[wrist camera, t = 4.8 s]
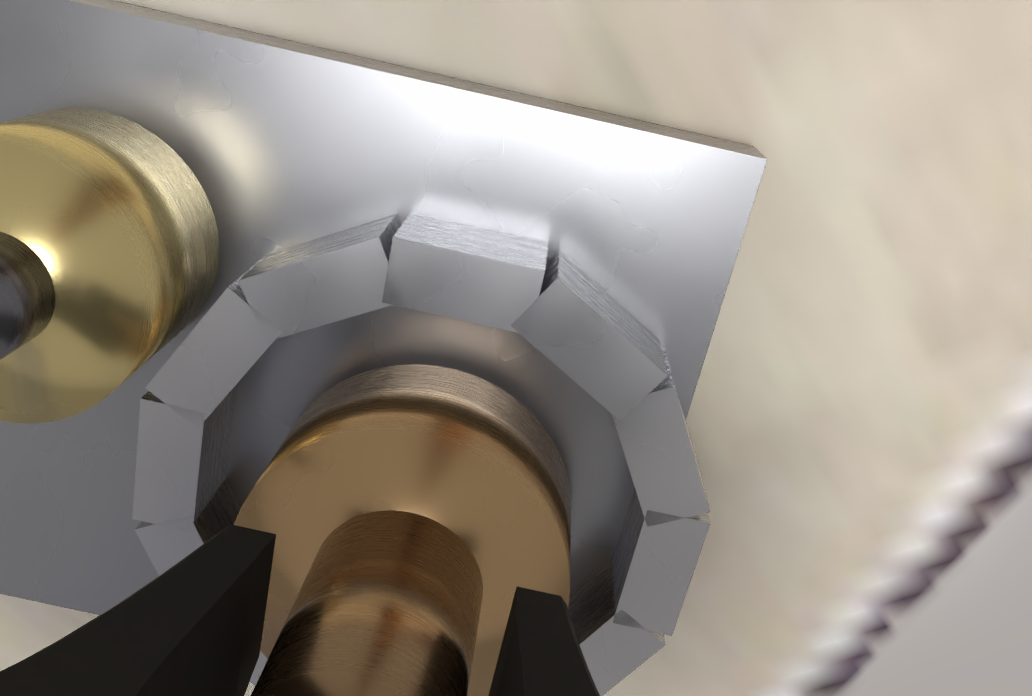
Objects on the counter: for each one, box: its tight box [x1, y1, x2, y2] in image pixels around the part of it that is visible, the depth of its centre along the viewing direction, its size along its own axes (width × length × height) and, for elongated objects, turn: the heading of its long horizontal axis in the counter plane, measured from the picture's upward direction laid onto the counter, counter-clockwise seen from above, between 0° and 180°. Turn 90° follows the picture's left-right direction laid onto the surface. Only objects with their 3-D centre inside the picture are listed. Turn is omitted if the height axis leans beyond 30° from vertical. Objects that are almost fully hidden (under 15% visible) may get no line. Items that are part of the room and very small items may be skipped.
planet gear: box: [234, 364, 571, 696], centre depth 14 cm, size 5×5×6 cm
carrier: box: [0, 0, 767, 696], centre depth 15 cm, size 11×14×5 cm
